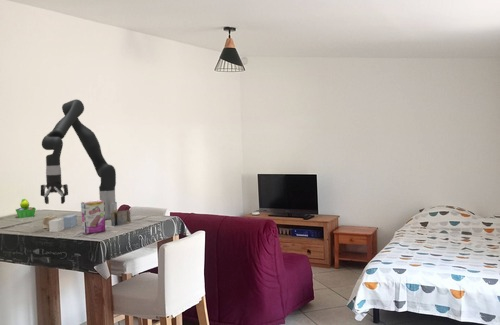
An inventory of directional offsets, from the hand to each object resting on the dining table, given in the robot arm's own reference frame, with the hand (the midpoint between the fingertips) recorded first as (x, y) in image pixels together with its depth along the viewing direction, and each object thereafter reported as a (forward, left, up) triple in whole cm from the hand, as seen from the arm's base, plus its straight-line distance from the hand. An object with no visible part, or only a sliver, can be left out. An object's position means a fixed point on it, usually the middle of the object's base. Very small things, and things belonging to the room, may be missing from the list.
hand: (54, 203), depth 268 cm
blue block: (-3, -11, -15) cm, 19 cm away
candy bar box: (-23, +7, -15) cm, 29 cm away
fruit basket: (+41, -48, -15) cm, 65 cm away
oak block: (+8, -10, -15) cm, 19 cm away
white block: (0, 0, -15) cm, 15 cm away
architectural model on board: (-31, -14, -15) cm, 38 cm away
